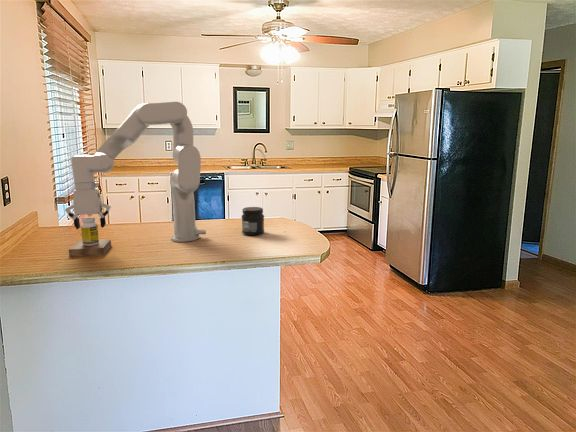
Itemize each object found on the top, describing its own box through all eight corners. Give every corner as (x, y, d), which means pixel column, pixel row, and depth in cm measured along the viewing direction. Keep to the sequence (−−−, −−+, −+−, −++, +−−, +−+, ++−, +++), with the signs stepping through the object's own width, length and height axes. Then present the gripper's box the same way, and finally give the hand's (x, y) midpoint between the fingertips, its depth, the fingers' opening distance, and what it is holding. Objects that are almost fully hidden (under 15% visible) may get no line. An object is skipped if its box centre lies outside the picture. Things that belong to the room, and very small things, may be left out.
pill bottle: (93, 246, 182) (90, 219, 179) (79, 245, 183) (76, 219, 180) (102, 242, 188) (99, 216, 185) (88, 241, 189) (86, 215, 186)
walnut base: (111, 246, 193) (110, 239, 192) (103, 255, 180) (103, 247, 180) (79, 247, 191) (78, 240, 190) (69, 256, 179) (68, 249, 178)
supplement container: (264, 230, 218) (264, 206, 216) (264, 236, 208) (263, 210, 205) (242, 231, 218) (242, 206, 215) (241, 236, 208) (240, 211, 205)
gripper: (109, 183, 185) (114, 224, 189) (65, 185, 183) (71, 226, 186) (105, 186, 178) (110, 228, 182) (59, 188, 175) (65, 231, 179)
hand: (90, 227), depth 184 cm, fingers open, 9 cm apart
